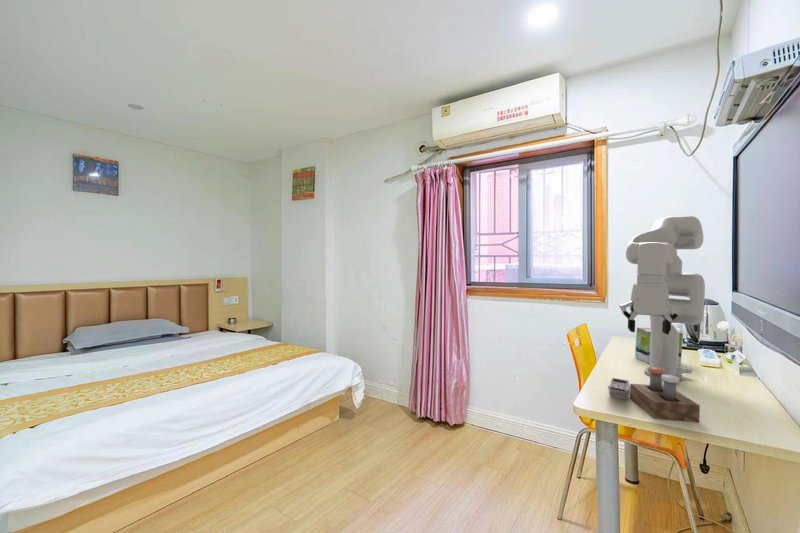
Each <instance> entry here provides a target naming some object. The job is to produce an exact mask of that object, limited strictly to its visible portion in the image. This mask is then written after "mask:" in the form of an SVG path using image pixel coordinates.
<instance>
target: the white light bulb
mask: <svg viewBox="0 0 800 533" xmlns="http://www.w3.org/2000/svg"><path fill="white" fill-rule="evenodd" d="M661 380H662V382H663V384H662V386H663V399H664V400H665V401H676V391H677V385H678V384H679V383H680V380H679V377H676V376H673V375H667V374H663V375H661Z"/></svg>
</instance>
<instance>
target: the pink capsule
mask: <svg viewBox="0 0 800 533" xmlns="http://www.w3.org/2000/svg"><path fill="white" fill-rule="evenodd" d="M647 368H648V372H650V376H649V379H650V380H649V385H650V390H651V391H658V392H662V386H663V380H661V375H663V374H665V370H664V369H662V368H658V367H647Z"/></svg>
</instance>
